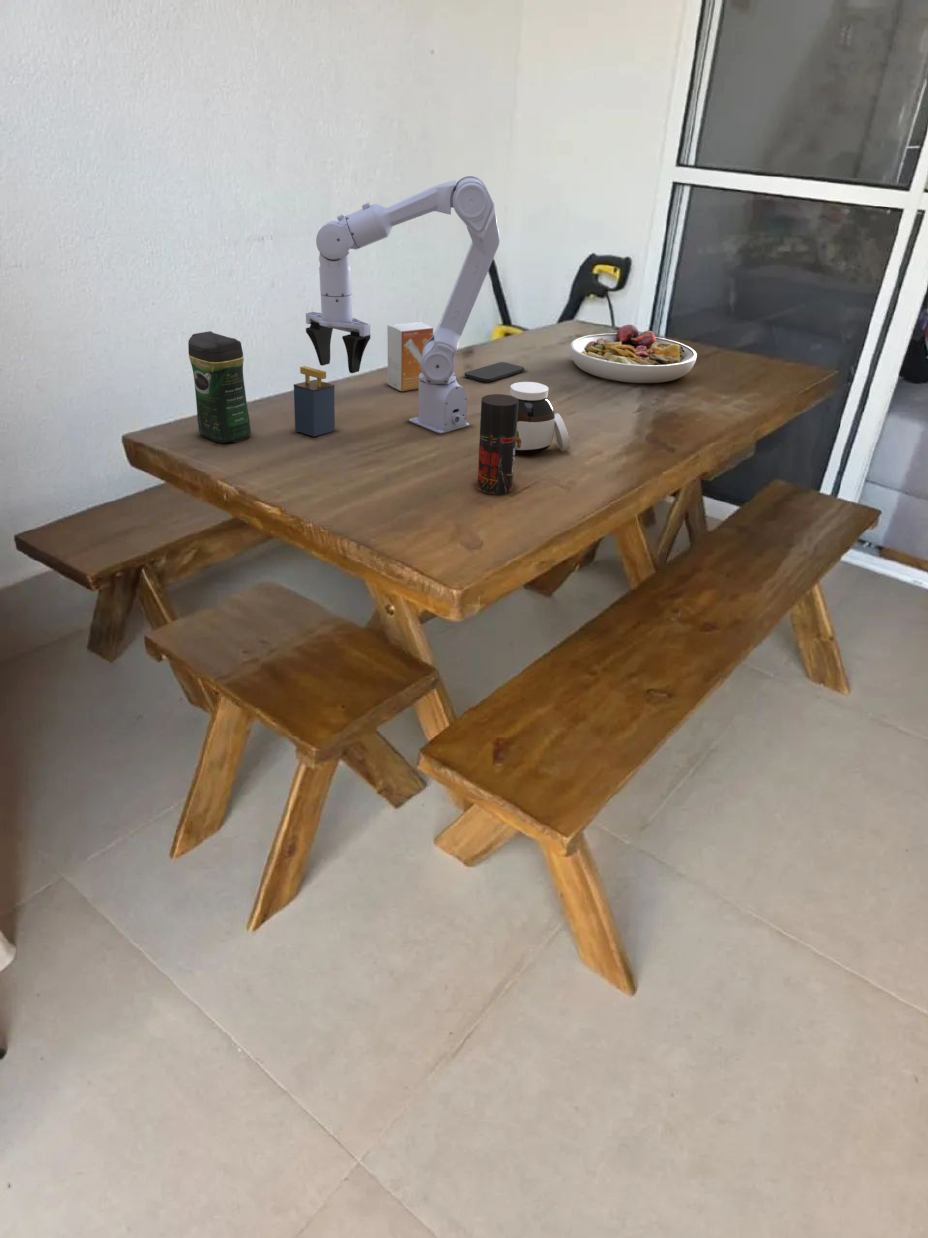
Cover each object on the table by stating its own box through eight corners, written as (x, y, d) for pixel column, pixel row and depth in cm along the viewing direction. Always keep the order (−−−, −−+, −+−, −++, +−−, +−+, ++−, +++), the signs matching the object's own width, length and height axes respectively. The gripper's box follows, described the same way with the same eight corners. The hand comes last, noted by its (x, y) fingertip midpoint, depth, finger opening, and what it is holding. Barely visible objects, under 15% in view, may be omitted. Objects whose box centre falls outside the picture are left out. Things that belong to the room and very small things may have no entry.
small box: (401, 392, 186) (401, 330, 179) (387, 384, 190) (386, 324, 183) (432, 387, 190) (433, 327, 183) (418, 379, 194) (418, 320, 187)
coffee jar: (258, 437, 159) (249, 335, 149) (223, 447, 154) (211, 343, 144) (227, 424, 165) (216, 325, 155) (192, 434, 159) (178, 332, 150)
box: (313, 363, 160) (292, 368, 156) (335, 369, 158) (313, 374, 154) (315, 424, 166) (294, 430, 162) (335, 430, 163) (315, 437, 159)
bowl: (705, 390, 195) (712, 355, 191) (575, 384, 195) (578, 349, 191) (679, 355, 221) (684, 324, 217) (563, 350, 221) (566, 319, 217)
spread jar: (491, 444, 160) (495, 383, 154) (536, 433, 166) (541, 374, 160) (533, 465, 152) (539, 400, 146) (579, 452, 158) (586, 390, 152)
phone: (526, 367, 203) (487, 379, 193) (526, 371, 203) (487, 383, 193) (501, 361, 207) (462, 372, 197) (501, 364, 207) (462, 376, 197)
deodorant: (475, 480, 145) (479, 393, 138) (510, 480, 146) (516, 394, 138) (479, 494, 140) (483, 405, 133) (514, 494, 141) (521, 405, 133)
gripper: (292, 290, 157) (297, 365, 164) (351, 303, 150) (353, 379, 157) (319, 285, 162) (322, 357, 169) (377, 297, 155) (378, 371, 162)
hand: (339, 368), depth 163 cm, fingers open, 7 cm apart
